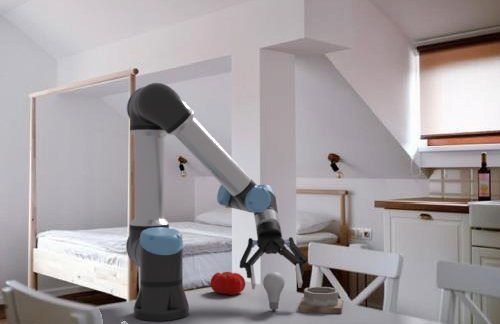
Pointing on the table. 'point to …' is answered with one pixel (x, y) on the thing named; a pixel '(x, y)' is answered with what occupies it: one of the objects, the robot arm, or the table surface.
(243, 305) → the table surface
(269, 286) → the lightbulb
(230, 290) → the tomato
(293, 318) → the table surface
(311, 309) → the bulb socket
